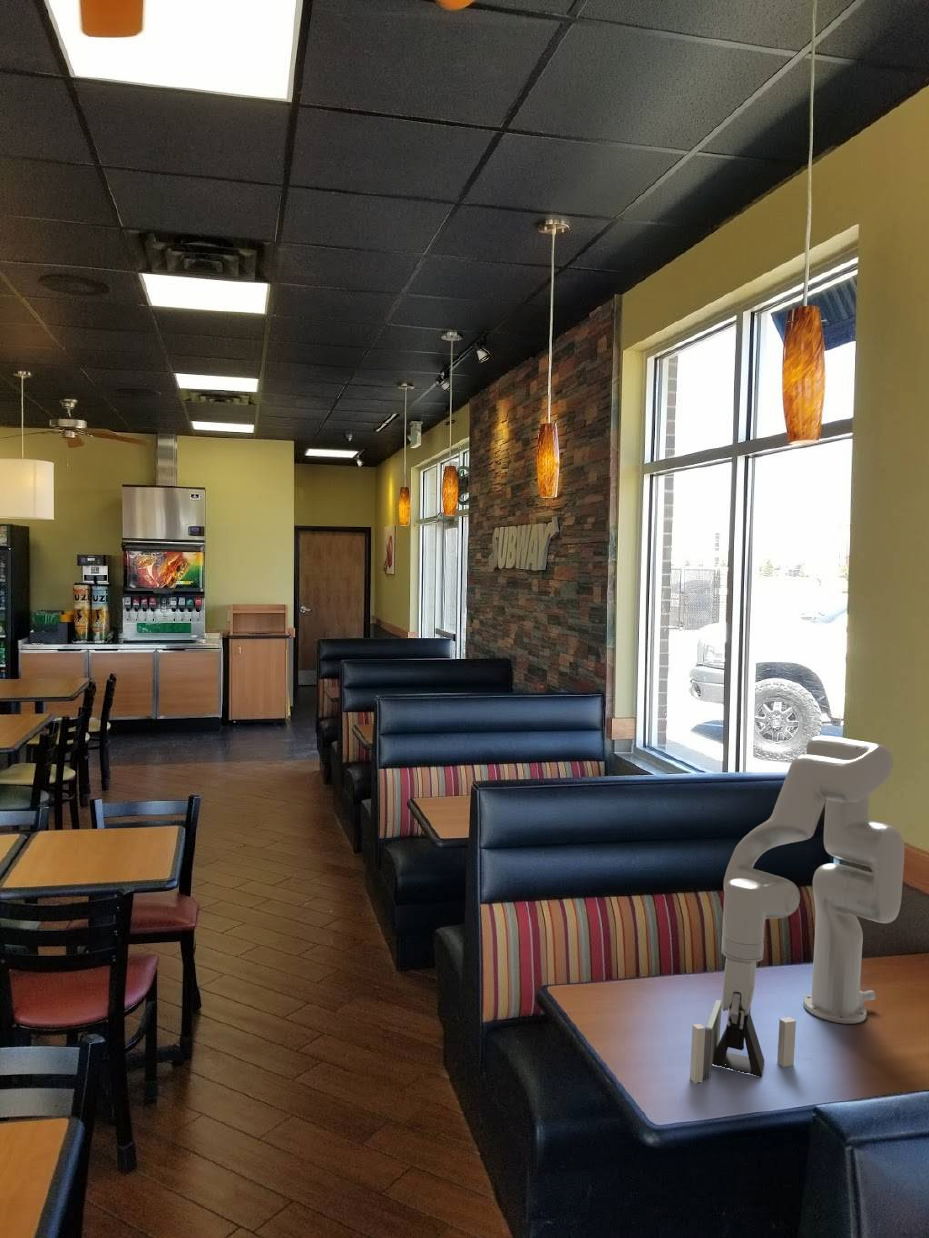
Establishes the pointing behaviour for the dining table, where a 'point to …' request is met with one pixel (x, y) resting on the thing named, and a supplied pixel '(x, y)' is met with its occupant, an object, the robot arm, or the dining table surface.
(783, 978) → the dining table surface
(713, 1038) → the door
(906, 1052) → the dining table surface
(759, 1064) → the phone stand
